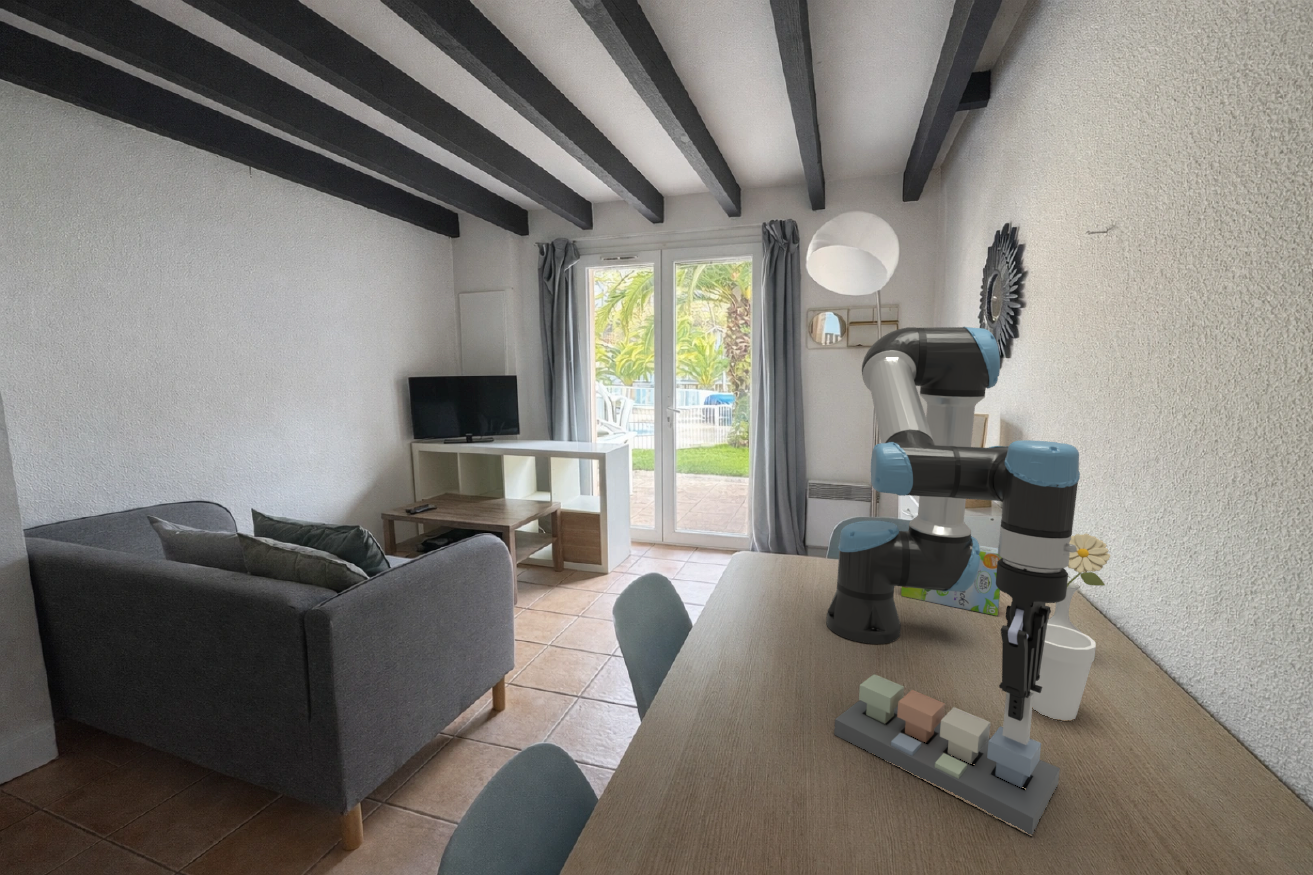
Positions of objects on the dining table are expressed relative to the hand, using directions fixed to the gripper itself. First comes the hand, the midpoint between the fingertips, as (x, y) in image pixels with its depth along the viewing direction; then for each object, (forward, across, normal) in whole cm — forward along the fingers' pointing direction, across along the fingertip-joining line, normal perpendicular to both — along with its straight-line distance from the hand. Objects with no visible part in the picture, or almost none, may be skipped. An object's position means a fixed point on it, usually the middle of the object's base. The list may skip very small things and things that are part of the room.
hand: (1015, 737), depth 74 cm
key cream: (+6, 0, +6) cm, 8 cm away
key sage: (+6, 0, +18) cm, 19 cm away
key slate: (+6, 0, 0) cm, 6 cm away
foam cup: (+8, +27, +1) cm, 28 cm away
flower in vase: (+8, +54, +5) cm, 55 cm away
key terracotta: (+6, 0, +12) cm, 13 cm away
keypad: (+8, 0, +9) cm, 12 cm away
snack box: (+8, +62, +30) cm, 69 cm away
